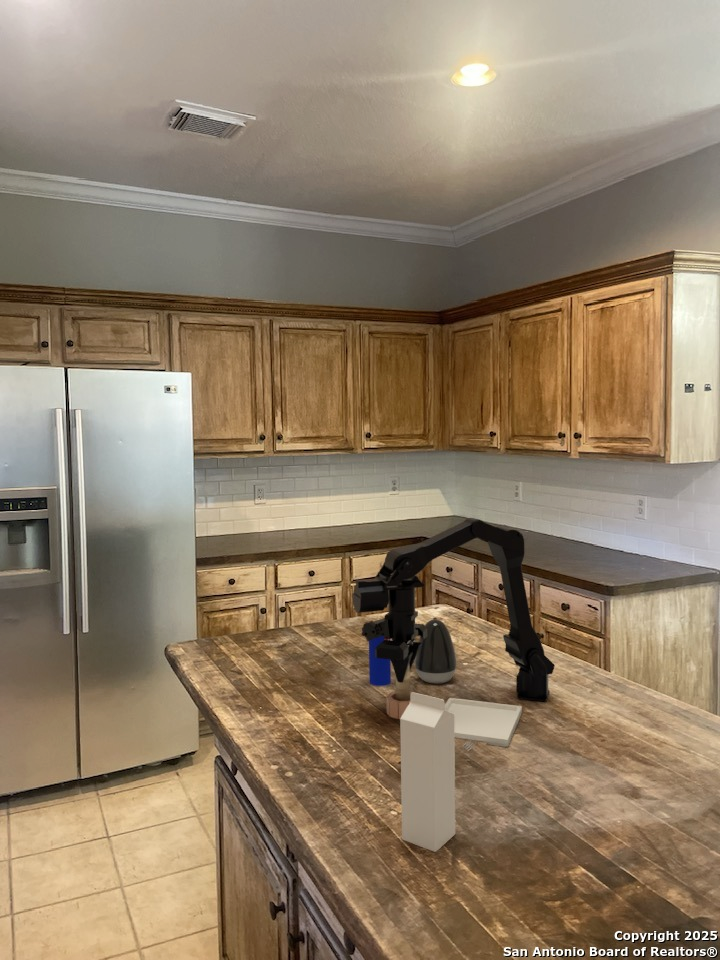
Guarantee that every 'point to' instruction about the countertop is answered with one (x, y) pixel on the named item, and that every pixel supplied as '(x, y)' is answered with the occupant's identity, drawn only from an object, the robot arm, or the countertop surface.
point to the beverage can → (378, 665)
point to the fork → (464, 747)
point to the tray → (484, 720)
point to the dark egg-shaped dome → (436, 654)
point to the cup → (395, 705)
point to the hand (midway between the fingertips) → (402, 679)
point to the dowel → (403, 688)
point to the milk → (427, 772)
